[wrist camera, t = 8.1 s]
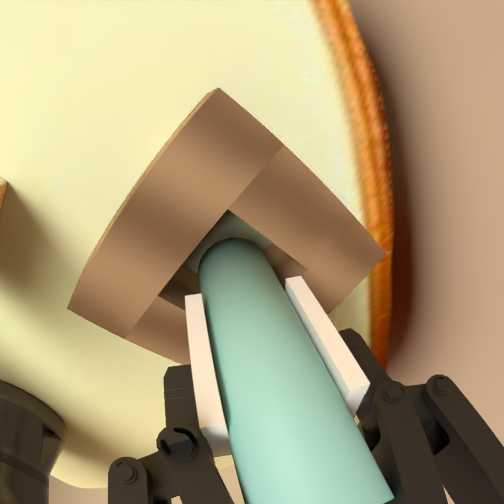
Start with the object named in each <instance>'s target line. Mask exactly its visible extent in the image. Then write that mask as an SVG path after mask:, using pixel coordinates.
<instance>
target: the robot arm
mask: <svg viewBox="0 0 504 504" xmlns="http://www.w3.org/2000/svg"><path fill="white" fill-rule="evenodd" d="M285 293H286V295H287V297H288V298H289V300H290V302H291V304H292V306H293V308H294V309H295V311H296V313H297V315H298V317H299V319H300V320H301V322H302V324H303V326H304V328H305V330H306V331H307V333H308V335H309V337H310V339H311V341H312V343H313V344H314V346H315V348H316V350H317V352H318V354H319V356H320V357H321V359H322V361H323V363H324V365H325V367H326V369H327V370H328V372H329V374H330V376H331V378H332V380H333V382H334V383H335V385H336V387H337V389H338V391H339V393H340V395H341V397H342V398H343V400H344V402H345V404H346V406H347V408H348V410H349V412H350V414H351V415H352V417H353V419H354V417H355V415H357V417H358V419H359V421H360V422H359V424H358V425H357V427H358V429H359V431H360V432H361V434H362V436H363V438H364V440H365V442H366V444H367V446H368V448H369V450H370V452H371V453H372V455H373V457H374V459H375V461H376V463H377V465H378V467H379V469H380V471H381V473H382V475H383V476H384V478H385V480H386V482H387V484H388V486H389V488H390V490H391V492H392V494H393V496H394V498H393V499H392V500H390V501H388V502H386V503H384V504H448V502H447V498H446V495H445V491H444V488H445V489H446V491H447V492H448V494H449V495H450V497H451V498H452V500H453V501H454V503H455V504H504V447H503V445H502V444H501V443H500V441H499V440H498V438H497V437H496V436H495V434H494V433H493V432H492V430H491V429H490V428H489V426H488V425H487V424H486V422H485V421H484V420H483V419H482V417H481V416H480V415H479V413H478V412H477V411H476V410H475V408H474V407H473V406H472V404H471V403H470V402H469V401H468V400H467V398H466V397H465V396H464V395H463V393H462V392H461V391H460V390H459V388H458V387H457V386H456V385H455V384H454V382H453V381H452V380H451V379H449V378H448V377H447V376H444V375H434V376H432V377H431V378H430V379H429V380H428V381H427V383H426V384H420V385H413V386H404V385H403V384H401V383H400V382H397V381H393V380H391V378H390V377H389V376H388V374H387V373H386V371H385V370H384V368H383V367H382V366H381V364H380V363H379V361H378V360H377V358H376V357H375V355H374V354H373V353H372V352H371V350H370V348H369V347H368V345H366V343H365V341H364V340H363V338H362V337H361V335H360V334H358V333H357V332H355V331H354V330H352V329H351V328H349V329H346V330H342V331H339V332H337V330H336V329H335V327H334V325H333V324H332V322H331V321H330V319H329V318H328V316H327V315H326V313H325V312H324V310H323V309H322V307H321V305H320V304H319V302H318V301H317V299H316V298H315V296H314V295H313V293H312V292H311V290H310V289H309V287H308V286H307V284H306V283H305V281H304V280H303V278H302V277H301V276H297V277H292V278H287V279H286V289H285ZM185 306H186V318H187V330H188V340H189V350H190V359H191V364H187V365H180V366H173V367H168V369H167V371H166V374H165V376H164V399H165V415H166V428H164V429H163V430H162V431H161V432H160V433H159V435H158V438H157V440H156V441H157V448H158V451H157V452H155V453H153V454H151V455H148V456H146V457H143V458H140V459H137V460H136V459H135V458H131V457H122V458H119V459H117V460H115V461H114V462H113V463H112V464H111V466H110V468H109V472H108V504H172V503H171V498H174V497H176V496H180V498H181V501H182V503H183V504H234V502H233V500H232V498H231V496H230V494H229V492H228V491H227V488H226V486H225V485H224V483H223V480H222V478H221V476H220V474H219V472H218V470H217V468H216V466H215V462H214V457H220V456H226V455H232V452H231V448H230V444H229V434H228V430H227V425H226V421H225V416H224V412H223V407H222V402H221V398H220V393H219V388H218V383H217V378H216V373H215V368H214V362H213V357H212V351H211V346H210V340H209V335H208V329H207V323H206V317H205V311H204V305H203V300H202V295H201V293H200V294H194V295H188V296H185ZM65 438H66V427H65V424H64V423H63V421H62V420H61V419H60V418H59V417H58V415H56V414H55V413H54V412H53V411H52V410H51V409H50V408H48V407H47V406H46V405H44V404H43V403H42V402H40V401H39V400H37V399H36V398H34V397H32V396H31V395H29V394H27V393H26V392H24V391H22V390H20V389H18V388H16V387H14V386H12V385H10V384H7V383H5V382H2V381H0V504H48V498H49V493H48V492H49V475H50V472H51V470H52V468H53V466H54V464H55V462H56V460H57V458H58V457H59V455H60V453H61V451H62V449H63V447H64V444H65ZM213 456H214V457H213ZM442 484H443V485H442ZM443 486H444V488H443Z"/></svg>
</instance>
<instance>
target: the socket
mask: <svg viewBox="0 0 504 504" xmlns="http://www.w3.org/2000/svg"><path fill="white" fill-rule="evenodd" d="M227 209H228V210H230V211H231V212H232V213H234V214H235V215H237V216H238V217H239V218H241V219H242V220H243V221H245V222H246V223H247V224H249V225H250V226H251V227H253V228H254V229H255V230H257V231H258V232H259V233H261V234H262V235H263V236H264V237H266V238H267V239H268V240H270V241H271V242H272V243H271V244H270V245H269V246H268V247H267V249H266V250H265V251H264V252H263V253H264V255H265V256H266V258H267V260H268V262H269V264H270V266H271V267H272V269H273V271H274V273H275V275H276V276H277V278H278V280H279V282H280V284H281V286H282V287H283V289H284V291H285V289H286V279H287V278H292V277H297V276H301V277H302V278H303V280H304V281H305V283H306V284H307V286H308V287H309V289H310V290H311V292H312V293H313V295H314V296H315V298H316V299H317V301H318V302H319V304H320V305H321V307H322V309H323V310H324V312H325V313H326V315H328V314H329V313H330V312H331V311H332V310H333V309H334V308H335V307H336V306H337V305H338V304H339V303H340V302H341V301H342V300H343V299H344V298H345V297H346V296H347V295H348V294H349V293H350V292H351V291H352V290H353V289H354V288H355V287H356V286H357V285H358V284H359V283H360V282H361V281H362V280H363V279H364V278H365V277H366V276H367V275H368V273H369V272H370V271H371V270H372V269H373V268H374V267H375V266H376V265H377V264H378V263H379V262H380V260H381V259H382V258H383V257H384V256H385V255H386V253H385V252H384V251H383V249H382V248H381V247H380V246H379V245H378V243H377V242H376V241H375V240H374V239H373V237H372V236H371V235H370V234H369V233H368V232H367V230H366V229H365V228H364V227H363V226H362V225H361V224H360V222H359V221H358V220H357V219H356V218H355V217H354V216H353V215H352V213H351V212H350V211H349V210H348V209H347V208H346V207H345V206H344V205H343V204H342V203H341V201H340V200H339V199H338V198H337V197H336V196H335V195H334V194H333V193H332V192H331V191H330V190H329V189H328V188H327V187H326V186H325V185H324V184H323V182H322V181H321V180H320V179H319V178H318V177H317V176H316V175H315V174H314V173H313V172H312V171H311V170H310V169H309V168H308V167H307V166H306V165H305V164H304V163H303V162H302V161H301V160H300V159H299V158H298V157H297V156H296V155H294V154H293V153H292V152H291V151H290V150H289V149H288V148H287V147H286V146H285V145H284V144H283V143H282V142H281V141H280V140H279V139H278V138H276V137H275V136H274V135H273V134H272V133H271V132H270V131H269V130H268V129H267V128H266V127H264V126H263V125H262V124H261V123H260V122H259V121H258V120H257V119H255V118H254V117H253V116H252V115H251V114H250V113H249V112H247V111H246V110H245V109H244V108H243V107H242V106H240V105H239V104H238V103H237V102H236V101H234V100H233V99H232V98H231V97H230V96H228V95H227V94H226V93H225V92H224V91H222V90H221V89H220V88H217V89H215V90H213V91H211V92H209V93H207V95H206V96H205V97H204V98H203V99H202V100H201V101H200V102H199V104H198V105H197V106H196V107H195V108H194V109H193V110H192V112H191V113H190V114H189V115H188V116H187V117H186V119H185V120H184V121H183V122H182V123H181V125H180V126H179V127H178V128H177V129H176V131H175V132H174V133H173V134H172V136H171V137H170V138H169V139H168V141H167V142H166V143H165V145H164V146H163V147H162V148H161V150H160V151H159V152H158V154H157V155H156V156H155V158H154V159H153V160H152V162H151V163H150V164H149V166H148V167H147V168H146V170H145V171H144V173H143V174H142V175H141V177H140V178H139V180H138V181H137V183H136V184H135V185H134V187H133V188H132V190H131V191H130V193H129V194H128V196H127V197H126V199H125V200H124V202H123V203H122V205H121V206H120V208H119V209H118V211H117V213H116V214H115V216H114V217H113V219H112V220H111V222H110V224H109V225H108V227H107V229H106V230H105V232H104V234H103V235H102V237H101V239H100V240H99V242H98V244H97V245H96V247H95V249H94V251H93V252H92V254H91V256H90V258H89V260H88V261H87V263H86V265H85V267H84V270H83V272H82V274H81V276H80V279H79V281H78V283H77V285H76V288H75V290H74V292H73V295H72V297H71V300H70V302H69V305H68V307H67V309H69V310H71V311H72V312H74V313H76V314H78V315H79V316H81V317H83V318H85V319H87V320H88V321H90V322H92V323H94V324H96V325H98V326H100V327H102V328H104V329H106V330H108V331H109V332H111V333H113V334H115V335H117V336H120V337H122V338H124V339H126V340H128V341H130V342H132V343H134V344H136V345H138V346H141V347H143V348H145V349H147V350H150V351H152V352H154V353H156V354H159V355H161V356H163V357H166V358H168V359H171V360H173V361H175V362H178V363H180V364H183V365H187V364H191V359H190V350H189V340H188V330H187V318H186V306H185V296H188V295H194V294H200V293H201V289H200V283H199V275H198V274H196V273H194V272H192V271H191V270H189V269H188V268H186V267H184V266H183V265H182V264H183V262H184V261H185V260H186V259H187V257H188V256H189V255H190V254H191V253H192V251H193V250H194V249H195V248H196V246H197V245H198V244H199V243H200V242H201V240H202V239H203V238H204V237H205V235H206V234H207V233H208V232H209V231H210V229H211V228H212V227H213V226H214V225H215V223H216V222H217V221H218V220H219V219H220V217H221V216H222V215H223V214H224V213H225V212H226V210H227Z"/></svg>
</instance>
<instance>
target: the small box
mask: <svg viewBox="0 0 504 504" xmlns="http://www.w3.org/2000/svg"><path fill="white" fill-rule="evenodd" d="M6 186H7V182H6V181H5V180H3V179H1V178H0V210H1V205H2V201H3V197H4V193H5V190H6Z"/></svg>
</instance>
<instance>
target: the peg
mask: <svg viewBox="0 0 504 504" xmlns="http://www.w3.org/2000/svg"><path fill="white" fill-rule="evenodd" d="M198 275H199V283H200V289H201V295H202V300H203V305H204V311H205V317H206V323H207V329H208V335H209V340H210V346H211V351H212V357H213V362H214V368H215V373H216V378H217V383H218V388H219V393H220V398H221V402H222V407H223V412H224V416H225V421H226V425H227V430H228V434H229V444H230V448H231V452H232V456H233V460H234V464H235V468H236V472H237V476H238V480H239V484H240V488H241V491H242V495H243V499H244V502H245V504H384V503H386V502H388V501H390V500H392V499H393V498H394V496H393V494H392V492H391V490H390V488H389V486H388V484H387V482H386V480H385V478H384V476H383V475H382V473H381V471H380V469H379V467H378V465H377V463H376V461H375V459H374V457H373V455H372V453H371V452H370V450H369V448H368V446H367V444H366V442H365V440H364V438H363V436H362V434H361V432H360V431H359V429H358V427H357V425H356V423H355V421H354V419H353V417H352V415H351V414H350V412H349V410H348V408H347V406H346V404H345V402H344V400H343V398H342V397H341V395H340V393H339V391H338V389H337V387H336V385H335V383H334V382H333V380H332V378H331V376H330V374H329V372H328V370H327V369H326V367H325V365H324V363H323V361H322V359H321V357H320V356H319V354H318V352H317V350H316V348H315V346H314V344H313V343H312V341H311V339H310V337H309V335H308V333H307V331H306V330H305V328H304V326H303V324H302V322H301V320H300V319H299V317H298V315H297V313H296V311H295V309H294V308H293V306H292V304H291V302H290V300H289V298H288V297H287V295H286V293H285V291H284V289H283V287H282V286H281V284H280V282H279V280H278V278H277V276H276V275H275V273H274V271H273V269H272V267H271V266H270V264H269V262H268V260H267V258H266V256H265V255H264V253H263V251H262V250H261V249H260V247H259V246H257V245H256V244H255V243H253V242H251V241H249V240H246V239H242V238H229V239H225V240H222V241H219V242H217V243H215V244H214V245H212V246H211V247H210V248H208V250H207V251H206V252H205V253H204V254H203V256H202V258H201V260H200V262H199V266H198Z"/></svg>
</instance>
